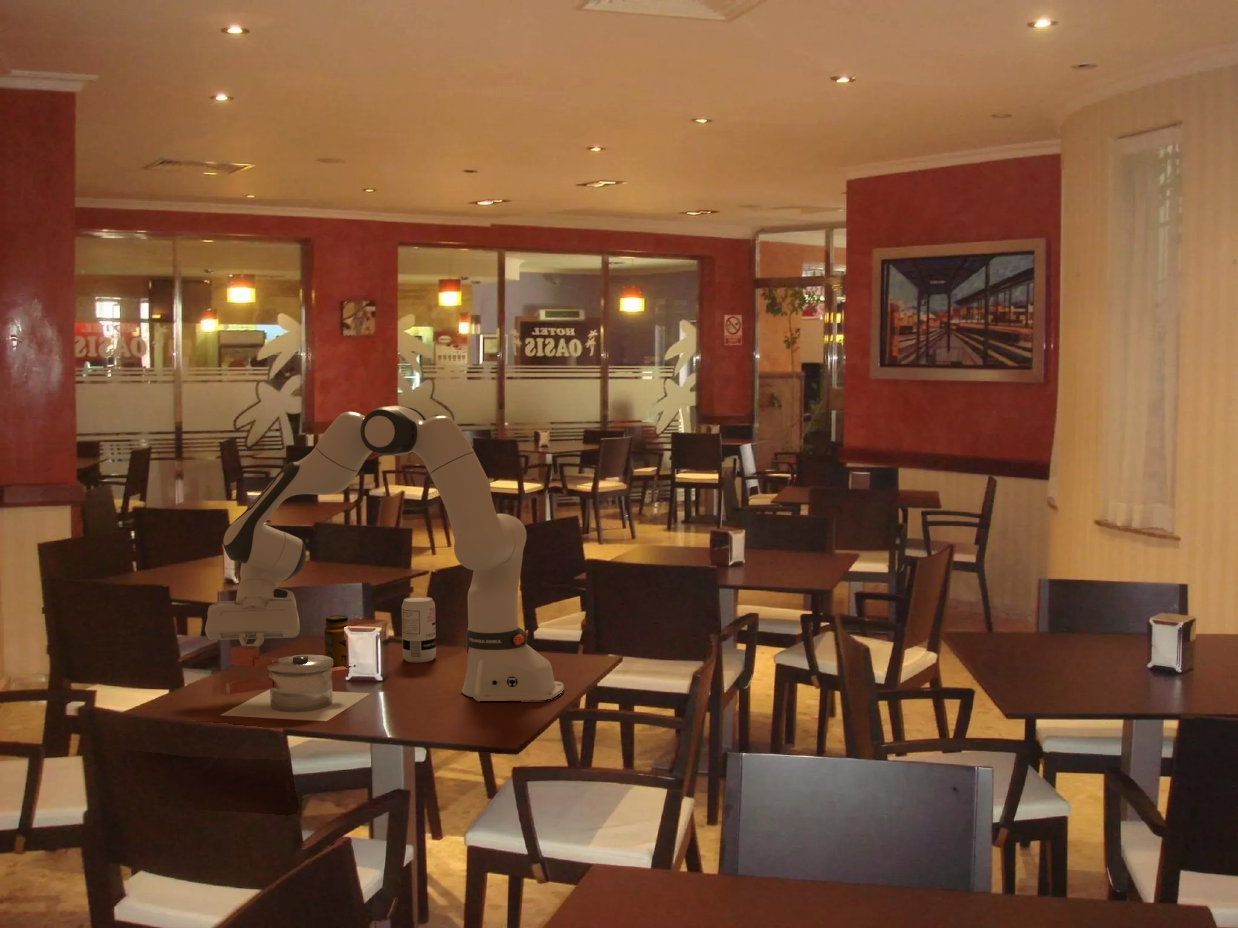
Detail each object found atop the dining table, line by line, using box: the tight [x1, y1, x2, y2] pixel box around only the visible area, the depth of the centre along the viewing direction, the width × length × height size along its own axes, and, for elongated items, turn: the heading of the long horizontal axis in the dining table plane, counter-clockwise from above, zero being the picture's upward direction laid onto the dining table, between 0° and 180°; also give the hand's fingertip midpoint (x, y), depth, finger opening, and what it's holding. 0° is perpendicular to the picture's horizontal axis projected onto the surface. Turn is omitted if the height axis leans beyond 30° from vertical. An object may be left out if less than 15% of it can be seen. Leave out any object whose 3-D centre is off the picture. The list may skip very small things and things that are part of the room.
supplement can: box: [401, 596, 437, 664], centre depth 315 cm, size 8×8×15 cm
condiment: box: [324, 614, 349, 667], centre depth 309 cm, size 7×8×12 cm
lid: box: [229, 645, 333, 675], centre depth 274 cm, size 22×14×4 cm, turn 77°
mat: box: [220, 688, 372, 722], centre depth 274 cm, size 24×22×1 cm
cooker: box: [225, 666, 349, 712], centre depth 272 cm, size 20×20×8 cm
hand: (249, 653), depth 281 cm, fingers closed
